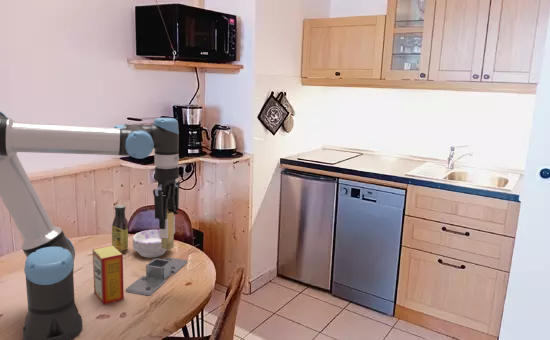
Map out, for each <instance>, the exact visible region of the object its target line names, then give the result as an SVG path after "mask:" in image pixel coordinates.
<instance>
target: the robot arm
mask: <svg viewBox="0 0 550 340" xmlns="http://www.w3.org/2000/svg"><path fill="white" fill-rule="evenodd" d="M179 134H180V131H179V122H178V120H177V119H176V118H174V117H156V118H155V119H154V120H153V124H126V123H125V124H116V125H115V126H114V127H101V126H100V127H99V126H98V127H97V126H83V125H69V124H68V125H64V124H50V123H48V124H47V123H32V122H17V121H15V120H13V119H12V118H11V117H7V116H6V115H5V114H4V113H3V112H2V111H0V199H1V201H2V203H3V204H4V206H5V208H6V210H7V211H8V213H9V215H10V217H11V219H12V220H13V222H14V225H15V226H16V227H17V230H18V232H19V233H20V235H21V238H22V239H23V242H22V244H21V249H22V251H23V253H24V254H25V257H26V259H25V263H24V270H23V271H24V275H25V284H26V286H25V287H26V296H27V297H26V298H27V300H26V301H27V314H26V317H25V321H24V325H23V327H22V340H73V339H75V338H76V337H77V336H78V335H79V334H81V332H82V330H83V319H82V316H81V314H80V313H79V309H78V307H77V304H76V303H75V285H74V283H75V282H74V281H75V279H74V269H75V268H74V266H75V257H76V249H75V247H74V244H73V243H72V241H71V240H70V239H69V238H68V237H66V235H65V233H64V231H63V229H62V228H61V227H58V226H55V225H54V224H53V222H52V219H51V218H50V216H49V214H48V213H47V210H46V209H45V207H44V204H43V203H42V201H41V199H40V196H39V195H38V193H37V191H36V189H35V187H34V185H33V183H32V182H31V179H30V178H29V176H28V174H27V172H26V170H25V167H24V166H23V165H22V162H21V161H20V158H19V155H17V153H39V154H64V155H65V154H66V155H67V154H68V155H70V154H71V155H74V154H75V155H76V154H77V155H98V156H99V155H102V156H103V155H104V156H105V155H106V156H121V157H124V156H125V157H126V156H127V157H132V158H135V159H145V158H147V157H148V156H150V155H151V154H152V152H153V151H154V166H155V167H154V178H155V179H156V180H158V183H157V188H156V189H153V190H152V193H153V199H154V203H153V205H154V218H155V220H159V225H158V227H159V229H158V230H159V237H160V238H168V219H166V216H167V211H173V221H174V234H175V233H176V215H179V205H180V204H179V202H180V201H179V200H180V199H179V197H180V196H179V195H180V183H181V182H180V181H176V180H177V179H178V178H179V174H180V173H179V172H180V171H179V164H180V163H179V160H180V156H179V147H180V145H179V140H180V139H179V138H180V137H179Z"/></svg>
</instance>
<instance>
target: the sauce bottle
mask: <svg viewBox="0 0 550 340" xmlns="http://www.w3.org/2000/svg"><path fill="white" fill-rule="evenodd" d="M114 210H115V211H114V214H115V216H114V218H113V221H112V225H111V246H112V245H113V246H114V247H115V248H116V249H117V250H118V251H119V252H120V253H121V254H122V255H123V254H125V253H127V251H128V248H129V228H128V227H129V225H128V224H129V223H128V219H127V217H126V205H125V204H117V205H115V206H114Z"/></svg>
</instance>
